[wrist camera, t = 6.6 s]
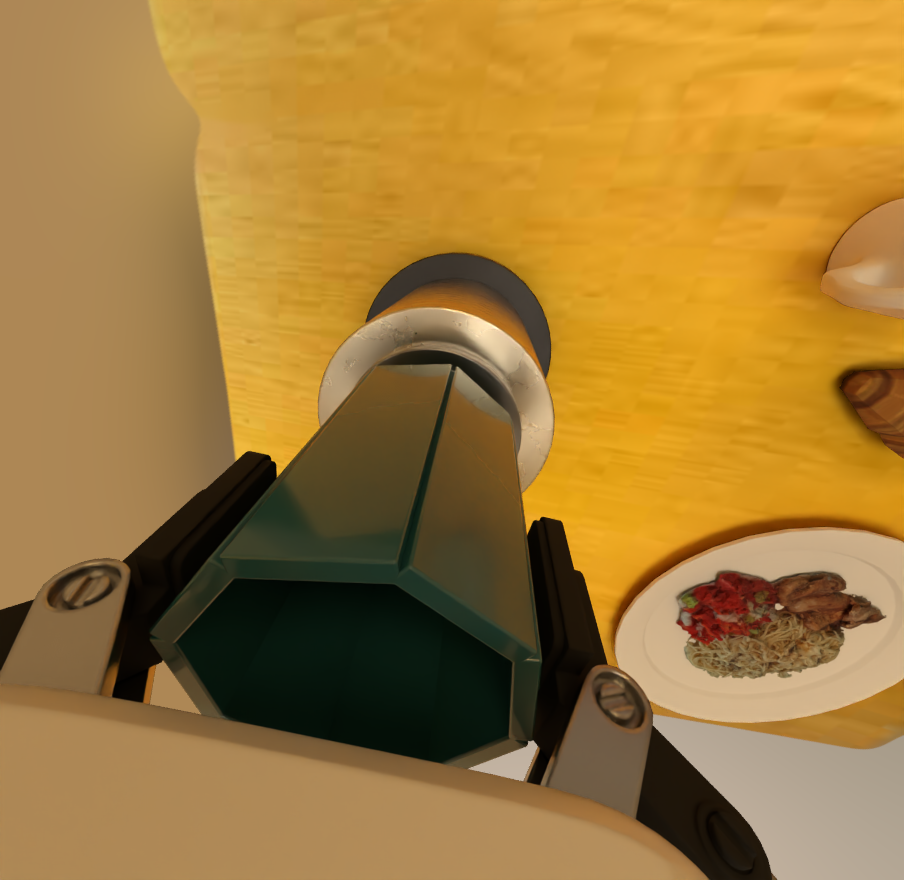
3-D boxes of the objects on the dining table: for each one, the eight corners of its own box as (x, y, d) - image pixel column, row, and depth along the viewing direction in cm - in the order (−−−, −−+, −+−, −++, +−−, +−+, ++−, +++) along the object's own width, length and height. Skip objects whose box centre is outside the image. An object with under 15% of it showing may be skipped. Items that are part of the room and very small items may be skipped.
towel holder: (451, 202, 24) (414, 168, 12) (588, 352, 28) (662, 439, 16) (332, 354, 30) (225, 434, 18) (459, 463, 34) (441, 589, 22)
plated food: (814, 723, 47) (836, 755, 44) (576, 681, 47) (582, 711, 44) (1022, 547, 33) (1075, 578, 30) (678, 489, 33) (696, 514, 30)
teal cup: (409, 321, 13) (276, 474, 5) (549, 450, 14) (622, 711, 7) (302, 449, 15) (110, 677, 8) (431, 542, 17) (384, 801, 9)
